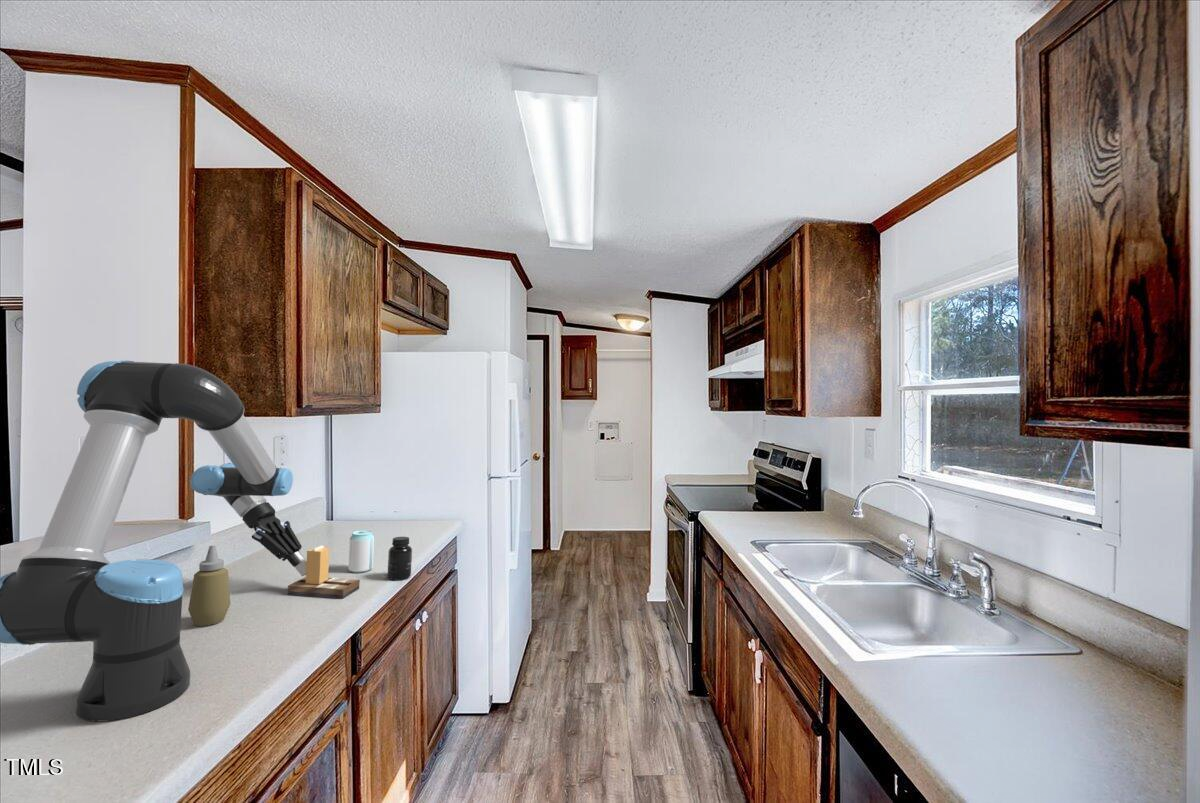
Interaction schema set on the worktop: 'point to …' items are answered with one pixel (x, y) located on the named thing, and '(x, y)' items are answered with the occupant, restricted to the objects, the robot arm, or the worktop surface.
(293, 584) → the console
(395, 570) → the supplement bottle
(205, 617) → the squeeze bottle
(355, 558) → the can
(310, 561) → the fader tab
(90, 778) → the worktop surface
